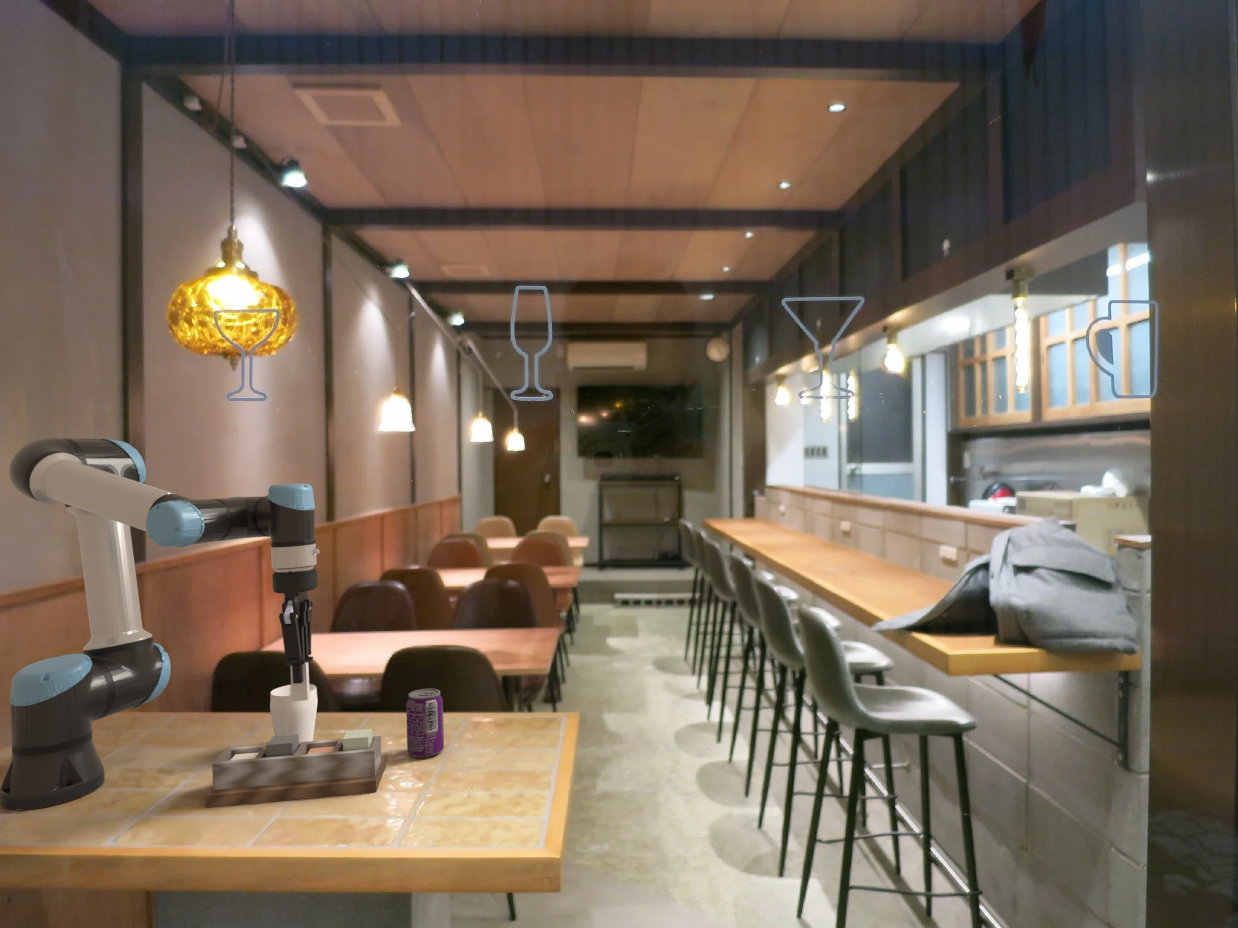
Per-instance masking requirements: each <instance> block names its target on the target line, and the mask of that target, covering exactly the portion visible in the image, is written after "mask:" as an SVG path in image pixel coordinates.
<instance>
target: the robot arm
mask: <svg viewBox="0 0 1238 928" xmlns="http://www.w3.org/2000/svg"><path fill="white" fill-rule="evenodd" d="M8 473H9V474H8V475H9V479H10V481H11V483H12V485H13V487H14V488H15V489H16V490H17V491H18V492H19V493H20V494H22V495H24V496H26V497H28V498H30V499H32V500H34V501H38V502H41V503H44V504H48V505H59V504H64V505H65V506H64V507H65V511H67V512H69V514H71V515H73V516H74V517H75V518H76V523H77V524H76V525H77V532H78V533H77V534H78V540H79V541H78V543H79V548H80V549H79V550H80V557H81V559H80V560H81V565H82V566H81V567H82V574H83V582H84V592H85V599H86V607H87V614H88V623H89V631H90V639H89V641H88V642H87V643H86V644H85V645H84V646H83V647H82V653H70V654H69V653H68V654H62V655H60V656H57V657H49V658H46V659H41V660H38V661H35V662H33V663H31V664H30V663H29V664H28V665H25V666H24V667H23V668H21V669H20V670H18V671H17V672H16V673H15V674H14V676H13V677H12V679H11V683H10V684H11V685H10V692H9V693H10V694H9V697H8V698H9V699H8V700H9V703H10V724H11V725H10V727H11V728H10V730H11V731H10V732H11V758H10V760H9V761H10V762H9V764H8V767H7V771H5V772H6V773H5V775H4V778H3V781H2V784H1V786H0V804H1V805H0V807H2V808H3V807H5V808H4V809H7V810H13V809H25V810H34V809H40V808H39V807H42V808H46V807H51V806H56V805H60V804H64V803H67V802H70V801H74V800H76V799H79V798H81V797H84V796H86V795H88V794H91V793H93V792H94V791H96V790H98V789H99V788H100V787H102V786H103V785H104V783H105V767H104V765H103V762H102V760H101V758H100V755H99V753H98V751H97V748H96V746H95V745H94V742H93V722H94V721H97V720H101V719H103V718H106V717H110V716H112V715H114V714H118V713H120V712H123V711H127V710H130V709H136V708H139V707H141V706H143V705H144V704H146V703H149V702H151V701H153V700H155V699H156V698H158V697H159V696H161V694H162V693H163V691H164V689H166V687H167V685H168V683H169V682H170V681H169V680H170V677H171V672H172V671H171V670H172V669H171V668H172V667H171V660H170V657H169V654H168V652H167V651H165V648H164V647H163V646H162V645H161V644H159V643H156V642H154V637H153V634H152V633H150V632H149V631H147V630H145V629H144V628H143V621H142V612H141V605H140V597H139V588H138V581H137V573H136V566H135V565H136V564H135V559H134V558H135V557H134V549H133V541H132V534H131V533H132V531H131V527H132V528H135V529H138V530H141V531H144V532H146V533H147V536H148V537H149V538H150V539H152V541H153V542H154V544H156V545H158V546H160V547H164V548H165V547H166V548H170V547H176V548H183V547H188V546H192V545H193V546H194V545H201V544H205V543H207V544H208V543H215V542H224V541H232V540H239V539H248V538H250V539H251V538H266V537H267V538H269V537H270V538H269V539H270V557H271V558H270V559H271V568H272V570H275V571H274V572H273V573H272V575H271V576H272V591H273V592H274V593H276V594H284V600H283V603H282V604H281V612H280V613H279V615H278V619H279V623H280V626H281V633H282V640H283V649H284V650H283V651H284V656H285V662H284V666H285V667H287V666H288V667H289V666H290V667H289V670H290V685H291V693H292V702H293V701H304V700H308V699H309V698H310V690H309V684H310V676H309V675H310V673H309V672H310V671H309V669H310V668H309V662H311V661H312V662H313V660H314V656H311V655H312V624H313V623H312V622H313V621H312V620H313V617H312V616H313V607H314V602H313V601H311V599H310V598H309V595H308V594H309V593H308V592H309V591H314V590H316V589H317V588H318V587H319V578H318V569H317V568H316V567H315V566H316V565H317V563H318V562H317V555H319V554H320V549H319V548H316V547H317V546H316V545H317V544H316V542H317V541H316V504H315V499H314V498H315V497H314V490H313V487H312V486H311V484H308V483H305V482H304V483H286V484H272V485H270V486H269V488H268V492H267V493H268V494H267V495H265V496H231V497H227V498H226V497H225V498H224V497H223V498H205V499H195V498H194V499H193V498H190V497H186V496H183V495H179V494H177V493H174V492H171V491H168V490H166V489H161V488H158V487H155V486H152V485H149V484H146V483H145V482H146V478H147V470H146V464H145V462H144V459H143V457H142V455H141V454H140V453H139V451H138V450H137V449H136V448H135V447H133V446H132V445H131V444H130V443H127V442H126V441H122V440H117V439H116V440H113V439H109V438H67V437H66V438H63V437H62V438H60V437H46V438H40V439H36V440H33V441H31V442H28V443H27V444H25V445H24V446H22V447H20V449H18V450H17V451H16V452H15V454H13V457H12V458H11V460H10V463H9V467H8Z"/></svg>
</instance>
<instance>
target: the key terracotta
mask: <svg viewBox="0 0 1238 928" xmlns="http://www.w3.org/2000/svg"><path fill="white" fill-rule="evenodd" d="M334 748H335V746H334V747H321V748H311V749H310V751H309V752H308V754H314V753H327V752H332V751H333V749H334Z"/></svg>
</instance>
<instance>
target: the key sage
mask: <svg viewBox="0 0 1238 928" xmlns="http://www.w3.org/2000/svg"><path fill="white" fill-rule="evenodd" d="M372 736H373V728H364V729H353V730H347V731H346V733H345V734H344V736H343V737H342V739H343V751H351V750H364V749H370V747H371V745H372Z"/></svg>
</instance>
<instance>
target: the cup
mask: <svg viewBox="0 0 1238 928" xmlns="http://www.w3.org/2000/svg"><path fill="white" fill-rule="evenodd" d="M309 690H310V698H309V699H308V700H304V701H293V702H292V693H291V684H287V685H283V686H279V687H277V688H274V689H272V690H271V691H270V700H269V701H270V702H269V710H270V716H271V717H270V718H271V721H272V722H271V723H272V727H273V733H274V736H285V735H298V734H299V742H308V741H314V733H315V725H316V719H317V718H316V717H317V709H318V702H319V701H318V688H317V686H316V685H315V684H314V683H313V684H312V683H309Z"/></svg>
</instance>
